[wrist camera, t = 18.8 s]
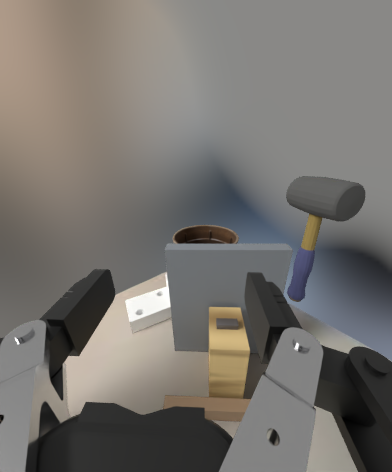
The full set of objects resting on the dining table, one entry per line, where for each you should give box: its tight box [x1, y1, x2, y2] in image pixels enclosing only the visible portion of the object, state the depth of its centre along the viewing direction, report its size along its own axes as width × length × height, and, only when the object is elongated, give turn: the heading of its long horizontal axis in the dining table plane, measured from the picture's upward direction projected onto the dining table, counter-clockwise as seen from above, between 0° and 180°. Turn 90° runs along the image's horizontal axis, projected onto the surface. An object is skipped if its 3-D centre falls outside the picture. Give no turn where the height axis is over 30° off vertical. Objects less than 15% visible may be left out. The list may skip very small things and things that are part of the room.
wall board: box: [163, 244, 293, 422], centre depth 27 cm, size 12×18×22 cm, turn 87°
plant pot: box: [173, 225, 239, 244], centre depth 49 cm, size 16×16×16 cm
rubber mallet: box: [286, 176, 365, 302], centre depth 41 cm, size 12×8×30 cm, turn 15°
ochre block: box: [209, 307, 250, 399], centre depth 28 cm, size 7×5×13 cm
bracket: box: [125, 273, 172, 333], centre depth 43 cm, size 13×7×8 cm, turn 117°
